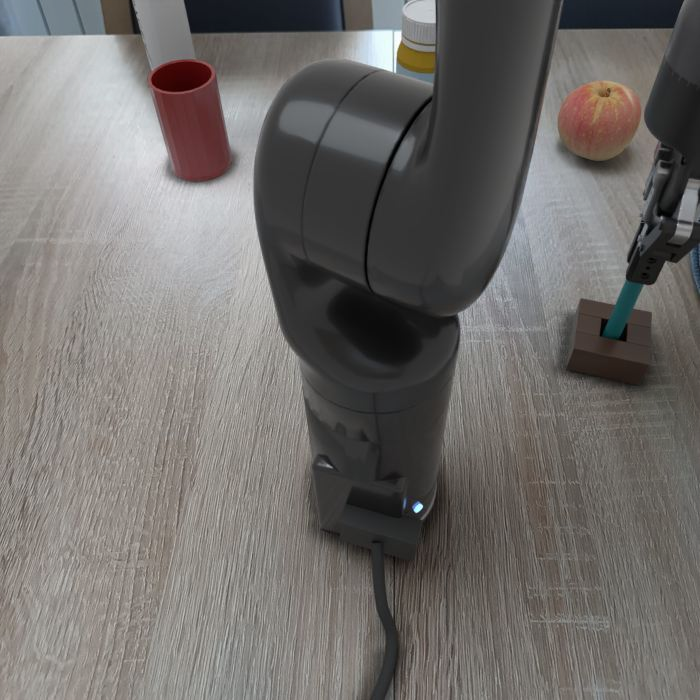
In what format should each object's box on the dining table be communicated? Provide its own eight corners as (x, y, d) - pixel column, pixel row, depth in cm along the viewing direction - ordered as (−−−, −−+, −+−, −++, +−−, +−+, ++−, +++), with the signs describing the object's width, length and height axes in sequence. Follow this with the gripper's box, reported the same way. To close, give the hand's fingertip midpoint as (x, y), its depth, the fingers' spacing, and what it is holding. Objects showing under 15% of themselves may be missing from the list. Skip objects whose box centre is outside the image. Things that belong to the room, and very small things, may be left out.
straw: (611, 358, 59) (671, 229, 47) (595, 355, 59) (651, 226, 47) (612, 347, 59) (671, 217, 48) (596, 343, 60) (651, 214, 48)
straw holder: (638, 385, 57) (650, 364, 54) (565, 369, 58) (573, 348, 56) (641, 333, 60) (652, 311, 58) (572, 319, 62) (580, 297, 59)
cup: (216, 186, 76) (196, 98, 67) (161, 175, 77) (135, 88, 69) (241, 151, 80) (226, 64, 72) (188, 141, 82) (167, 55, 73)
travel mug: (205, 67, 93) (172, -95, 78) (193, 92, 89) (156, -75, 73) (162, 66, 94) (121, -96, 78) (148, 90, 90) (102, -76, 74)
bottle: (384, 141, 81) (387, 17, 69) (408, 113, 84) (414, -9, 73) (437, 156, 78) (448, 30, 67) (459, 126, 82) (473, 2, 71)
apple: (611, 182, 75) (633, 118, 68) (539, 156, 78) (553, 94, 72) (638, 144, 79) (661, 82, 73) (568, 122, 82) (584, 60, 76)
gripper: (668, -1, 43) (597, 210, 56) (664, 109, 35) (582, 324, 48) (794, 12, 41) (689, 226, 55) (820, 130, 33) (690, 347, 47)
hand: (639, 271), depth 51 cm, fingers closed on straw, 1 cm apart
